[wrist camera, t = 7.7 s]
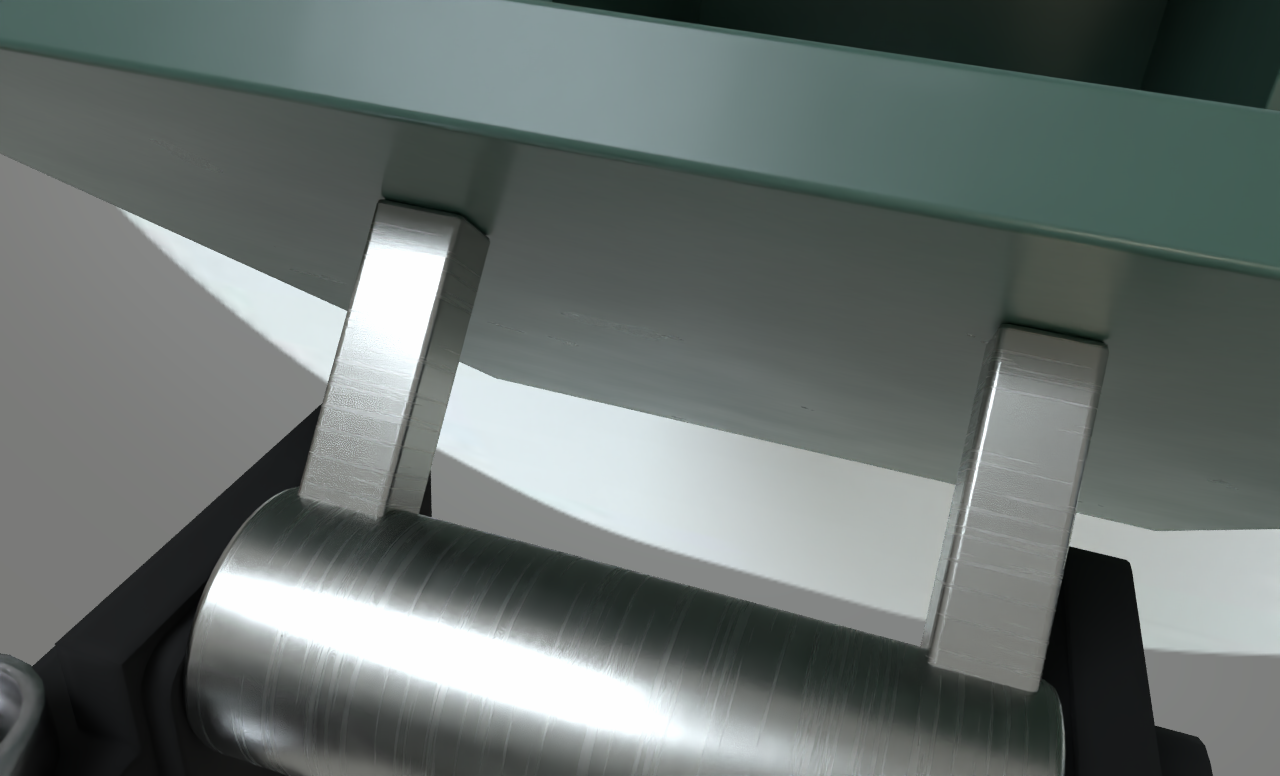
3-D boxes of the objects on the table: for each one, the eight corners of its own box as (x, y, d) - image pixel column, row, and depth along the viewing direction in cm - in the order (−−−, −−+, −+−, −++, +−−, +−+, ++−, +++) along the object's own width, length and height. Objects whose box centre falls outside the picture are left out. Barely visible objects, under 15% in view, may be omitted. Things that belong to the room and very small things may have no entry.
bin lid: (-359, -138, 7) (-619, 609, 7) (2606, 302, 4) (2484, 1745, 4) (503, 345, 25) (448, 555, 25) (1165, 493, 22) (1117, 737, 21)
